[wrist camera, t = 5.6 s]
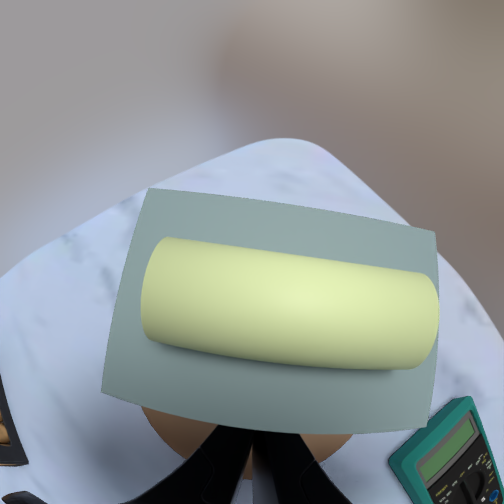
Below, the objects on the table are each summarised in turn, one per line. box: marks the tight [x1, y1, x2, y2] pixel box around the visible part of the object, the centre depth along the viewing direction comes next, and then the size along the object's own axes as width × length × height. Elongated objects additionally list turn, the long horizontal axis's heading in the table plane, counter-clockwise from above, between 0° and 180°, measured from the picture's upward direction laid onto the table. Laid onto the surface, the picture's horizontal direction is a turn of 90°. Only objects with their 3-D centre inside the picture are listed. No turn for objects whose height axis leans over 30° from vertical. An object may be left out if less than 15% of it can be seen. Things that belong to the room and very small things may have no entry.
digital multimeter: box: [389, 396, 504, 504], centre depth 10 cm, size 7×15×3 cm, turn 26°
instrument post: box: [101, 188, 439, 434], centre depth 9 cm, size 4×6×11 cm, turn 82°
